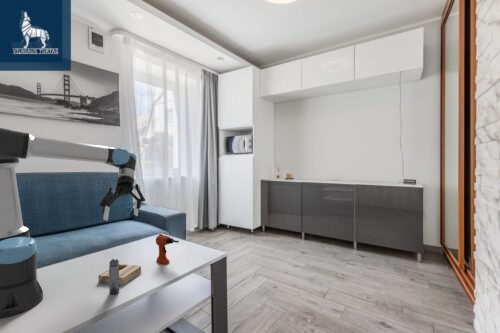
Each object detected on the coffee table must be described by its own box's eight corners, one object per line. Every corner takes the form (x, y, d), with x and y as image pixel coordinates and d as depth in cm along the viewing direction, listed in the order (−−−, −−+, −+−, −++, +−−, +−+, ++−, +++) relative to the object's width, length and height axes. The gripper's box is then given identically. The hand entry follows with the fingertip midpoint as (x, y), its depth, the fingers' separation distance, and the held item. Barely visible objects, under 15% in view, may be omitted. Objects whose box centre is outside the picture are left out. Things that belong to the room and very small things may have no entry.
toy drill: (176, 268, 112) (173, 236, 113) (154, 263, 123) (152, 234, 124) (184, 265, 116) (182, 234, 117) (162, 260, 127) (160, 232, 128)
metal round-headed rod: (107, 294, 93) (107, 260, 92) (113, 290, 96) (113, 256, 96) (114, 295, 92) (114, 261, 92) (121, 291, 95) (120, 257, 95)
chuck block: (98, 282, 102) (98, 275, 102) (118, 269, 114) (118, 263, 114) (123, 284, 100) (122, 277, 100) (141, 272, 112) (141, 265, 112)
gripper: (153, 179, 126) (151, 216, 114) (104, 186, 123) (96, 224, 112) (148, 171, 120) (145, 209, 108) (96, 178, 117) (87, 218, 105)
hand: (120, 217), depth 110 cm, fingers open, 13 cm apart
